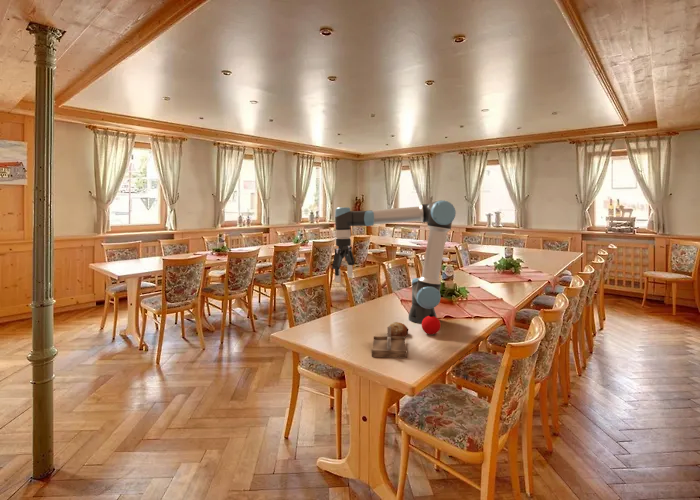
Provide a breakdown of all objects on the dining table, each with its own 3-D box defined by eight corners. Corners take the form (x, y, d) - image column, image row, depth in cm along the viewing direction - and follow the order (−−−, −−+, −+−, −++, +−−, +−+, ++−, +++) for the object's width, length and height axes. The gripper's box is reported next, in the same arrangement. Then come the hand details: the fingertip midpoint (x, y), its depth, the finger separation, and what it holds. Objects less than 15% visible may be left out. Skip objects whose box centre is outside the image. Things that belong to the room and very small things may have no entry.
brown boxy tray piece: (404, 342, 173) (404, 326, 173) (406, 357, 156) (406, 339, 155) (373, 341, 175) (373, 325, 174) (371, 356, 157) (371, 338, 156)
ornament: (439, 338, 179) (439, 317, 178) (419, 336, 182) (420, 315, 181) (441, 332, 188) (441, 312, 187) (423, 330, 191) (423, 310, 190)
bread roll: (389, 338, 190) (382, 324, 189) (407, 329, 190) (400, 315, 189) (393, 345, 180) (385, 331, 179) (412, 336, 180) (405, 321, 179)
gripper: (347, 236, 206) (348, 275, 208) (324, 239, 184) (325, 283, 186) (360, 236, 203) (361, 276, 205) (338, 240, 181) (339, 284, 183)
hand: (344, 279), depth 196 cm, fingers open, 13 cm apart
